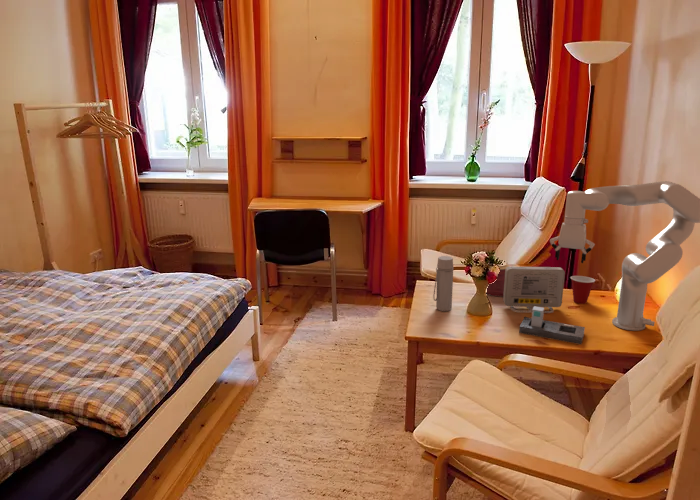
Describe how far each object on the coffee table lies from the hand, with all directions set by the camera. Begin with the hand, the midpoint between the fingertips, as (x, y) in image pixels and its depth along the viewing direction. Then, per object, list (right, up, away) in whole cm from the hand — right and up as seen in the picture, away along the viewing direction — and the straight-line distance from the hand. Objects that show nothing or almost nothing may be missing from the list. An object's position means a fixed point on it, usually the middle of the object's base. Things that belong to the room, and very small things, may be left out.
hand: (569, 260), depth 215 cm
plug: (-14, -29, +1) cm, 33 cm away
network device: (-8, -23, +23) cm, 34 cm away
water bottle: (-50, -23, +24) cm, 60 cm away
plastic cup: (+18, -20, +31) cm, 42 cm away
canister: (-18, -17, +45) cm, 52 cm away
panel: (-9, -30, -2) cm, 31 cm away
